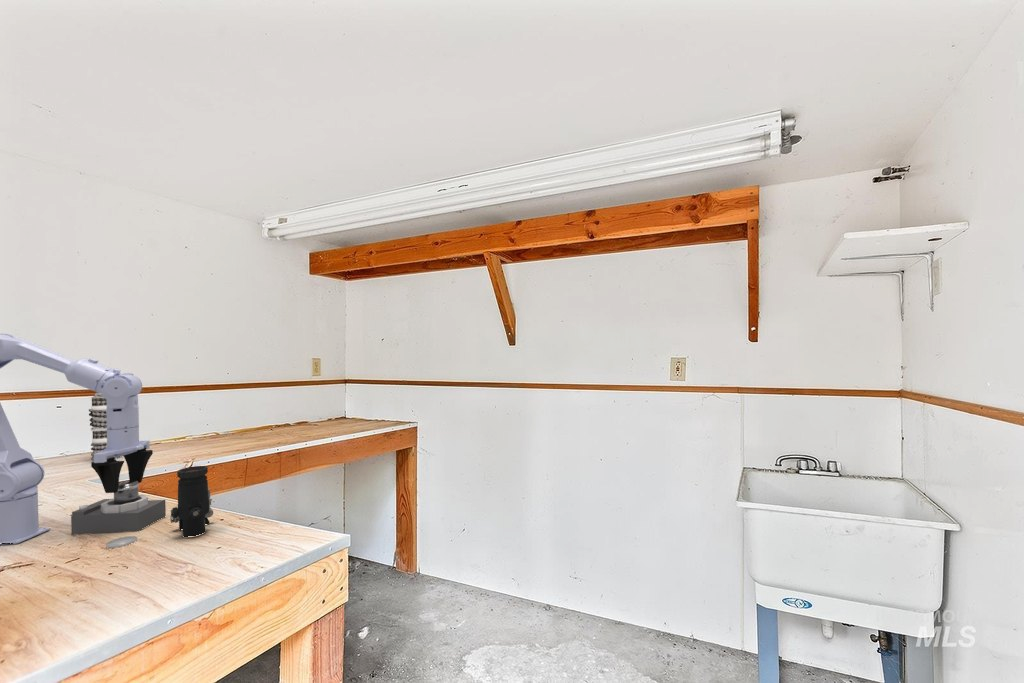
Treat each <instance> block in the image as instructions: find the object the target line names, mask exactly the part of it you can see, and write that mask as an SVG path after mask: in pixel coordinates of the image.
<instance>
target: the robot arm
mask: <svg viewBox="0 0 1024 683" xmlns="http://www.w3.org/2000/svg"><path fill="white" fill-rule="evenodd" d="M14 360H24V361H26V362H29V363H32V364H35V365H38V366H41V367H44V368H47V369H50V370H53V371H56V372H59V373H62V374H64V376H65V378H66V380H67V382H69V383H71V384H74V385H76V386H80V387H82V388H85V389H87V390H90V391H93V392H96V393H101V394H102V396H103V397H104V398H105V399H106V402H107V408H106V415H107V448H106V449H104V450H102V451H101V452H98V453H96V454H94V462H92V461H91V463H90V464H91V466H90V467H91V468H92V469H93V471H95V473H96V474H97V475H98V477H99V480H100V482H101V484H102V486H103V490H104V493H105V494H114V493H116V492H117V491H118V487H119V482H120V475H121V471H122V467H123V465H124V463H126V466H127V470H128V479H129V480H138V483H139V484H140V483H142V481H143V477H144V475H145V471H146V467H147V466H148V463H149V460H150V459H151V457H152V455H153V454H154V452H153V449H150V446H151V444H150V440H140V422H139V421H140V417H139V416H140V414H139V412H140V411H139V409H140V406H139V396H138V395H140V393H141V392H142V390H143V382H142V380H141V379H140V378H139V377H138V376H136V375H134V373H132V372H131V373H129V372H127V373H121V369H118V368H110V367H108V366H105V365H103V364H101V363H99V360H98V359H95V358H93V357H92V358H89V359H87V358H80V359H76V360H74V359H71V358H69V357H68V356H65V355H63V354H60V353H59V352H56V351H53V350H51V349H48V348H46V347H44V346H41V345H39V344H36V343H35V342H32V341H30V340H28V339H26V338H21V337H16V336H14V335H12V334H9V333H8V334H7V333H0V370H1V369H3V368H4V367H6V366H7V365H8V364H10V363H12V362H13V361H14ZM120 456H121V457H123V458H124V460H119V461H116V460H115V458H117V457H120ZM121 457H120V458H121ZM44 477H45V469H44V467H43V465H41V464H40V463H39V462H38V461H37V460H36V459H34V457H33V456H32V453H31V452H29V451H28V450H26V449H24V448H22V447H21V446H20V443H19V441H18V439H17V437H16V434H15V433H14V431H13V428H12V426H11V423H10V421H9V419H8V416H7V414H6V413H5V410H4V408H3V406H2V403H1V402H0V543H10V544H9V545H15V544H20V543H22V542H25V541H26V540H27V541H28V540H29V539H31V538H35V537H37V536H39V535H41V534H43V533H45V532H48V531H51V527H39V525H40V524H39V490H38V485H40V484H41V483H42V482H43V480H44ZM129 480H128V481H129ZM11 543H13V544H11Z"/></svg>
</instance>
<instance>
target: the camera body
mask: <svg viewBox="0 0 1024 683" xmlns="http://www.w3.org/2000/svg"><path fill="white" fill-rule="evenodd" d="M166 507H167V506H166V499H152V500H151V499H150V500H149V497H148V496H147V495H145V494H139V500H137V501H135V502H131V503H126V504H122V505H114V498H103V499H100V500H98V501H96V502H94V503H92V504H89V505H88V504H81V505H79V506H78V509H76V510H74V511H72V512H71V515H70V522H71V523H70V525H71V527H70V529H71V530H70V531H71V535H84V534H85V533H91V534H107V533H108V532H111V533H124V531H131V532H140V531H142V530H143V529H142V528H144V527H146V526H148V525H149V526H151V525H152V524H151V523H153V522H155V521H157V520H159V519H160V520H162V519H164V518H166V517H167V516H166V514H167V512H166ZM165 516H166V517H165ZM163 517H164V518H163ZM161 518H162V519H161ZM160 520H159V521H160ZM157 522H158V521H157ZM155 523H156V522H155ZM150 524H151V525H150ZM153 524H154V523H153ZM149 526H148V527H149ZM146 528H147V527H146ZM141 529H142V530H141ZM144 529H145V528H144ZM139 530H140V531H139ZM108 534H109V533H108Z"/></svg>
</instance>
